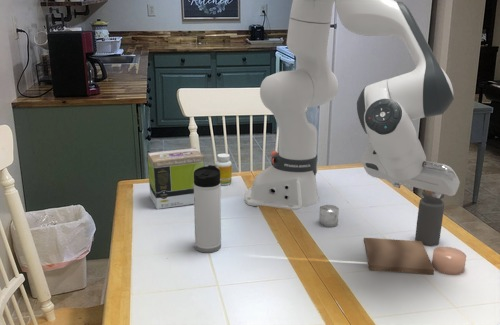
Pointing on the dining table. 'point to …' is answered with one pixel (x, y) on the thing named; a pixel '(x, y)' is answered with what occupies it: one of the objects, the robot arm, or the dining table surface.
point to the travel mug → (207, 209)
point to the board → (397, 256)
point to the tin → (328, 216)
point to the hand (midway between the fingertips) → (417, 189)
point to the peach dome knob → (448, 260)
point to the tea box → (173, 176)
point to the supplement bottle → (224, 168)
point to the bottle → (429, 219)
